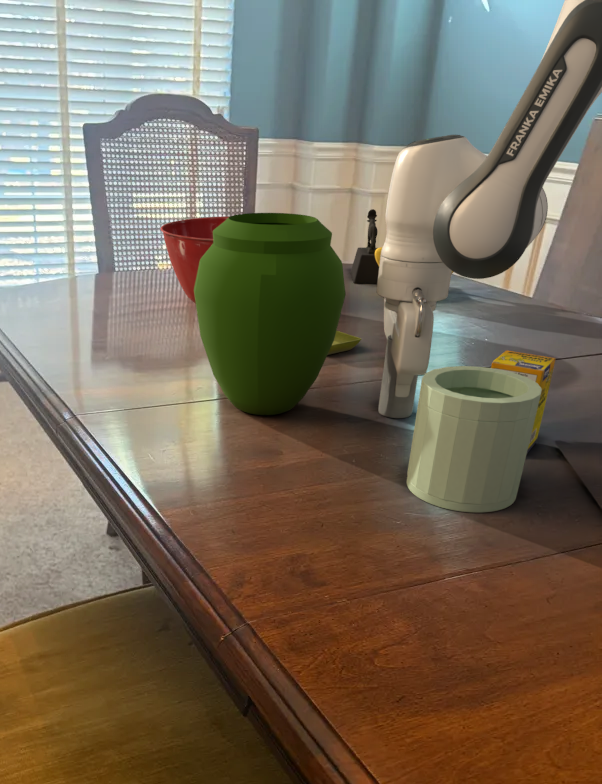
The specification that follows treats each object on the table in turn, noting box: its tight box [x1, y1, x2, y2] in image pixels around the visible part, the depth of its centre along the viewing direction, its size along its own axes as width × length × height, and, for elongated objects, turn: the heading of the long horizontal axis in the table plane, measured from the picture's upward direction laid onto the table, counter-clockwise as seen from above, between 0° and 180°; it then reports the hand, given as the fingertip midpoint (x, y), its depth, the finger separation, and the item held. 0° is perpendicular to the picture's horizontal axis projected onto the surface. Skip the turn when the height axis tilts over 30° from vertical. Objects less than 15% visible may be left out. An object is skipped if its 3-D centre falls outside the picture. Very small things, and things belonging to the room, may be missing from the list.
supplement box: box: [490, 349, 556, 456], centre depth 93 cm, size 6×6×11 cm
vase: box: [194, 212, 346, 416], centre depth 101 cm, size 20×20×24 cm
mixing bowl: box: [160, 216, 230, 305], centre depth 155 cm, size 28×28×15 cm
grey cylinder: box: [377, 335, 419, 419], centre depth 103 cm, size 4×4×10 cm
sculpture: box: [350, 208, 379, 285], centre depth 180 cm, size 8×13×15 cm, turn 171°
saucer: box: [327, 329, 362, 356], centre depth 131 cm, size 9×9×2 cm
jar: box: [406, 365, 542, 514], centre depth 82 cm, size 12×12×12 cm
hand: (398, 387), depth 103 cm, fingers open, 5 cm apart
